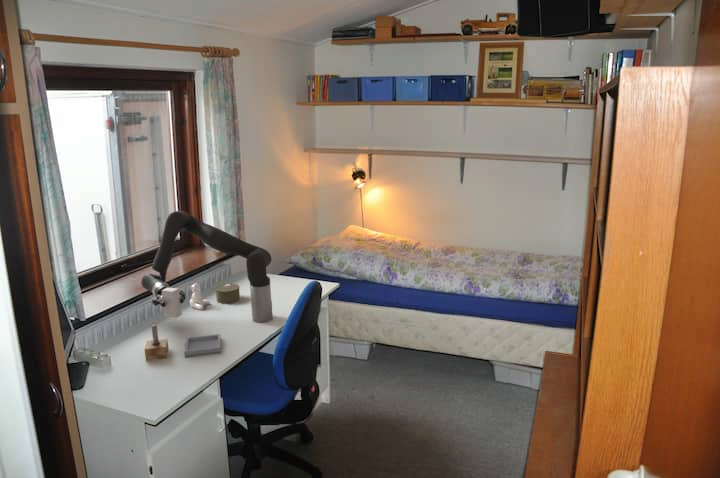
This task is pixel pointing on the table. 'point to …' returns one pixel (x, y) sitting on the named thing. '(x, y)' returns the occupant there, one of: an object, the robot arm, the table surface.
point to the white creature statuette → (197, 298)
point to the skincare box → (172, 302)
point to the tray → (203, 345)
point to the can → (227, 293)
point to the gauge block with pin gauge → (156, 347)
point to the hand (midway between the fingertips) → (173, 303)
